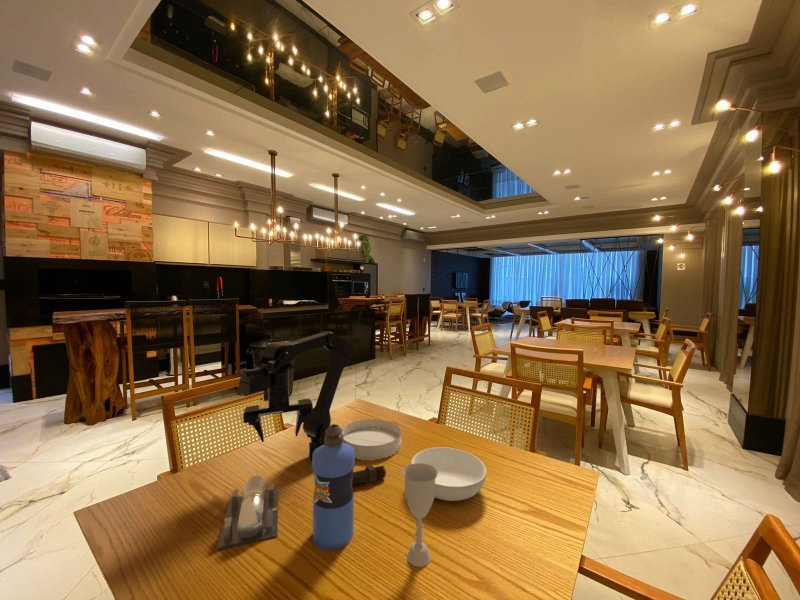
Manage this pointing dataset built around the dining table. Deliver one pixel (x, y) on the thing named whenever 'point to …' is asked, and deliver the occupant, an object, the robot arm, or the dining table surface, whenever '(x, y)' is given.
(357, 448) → the dish
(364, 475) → the bolt
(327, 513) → the water bottle
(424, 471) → the chalice
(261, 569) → the dining table surface
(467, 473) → the serving bowl
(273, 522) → the collar cradle
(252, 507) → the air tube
